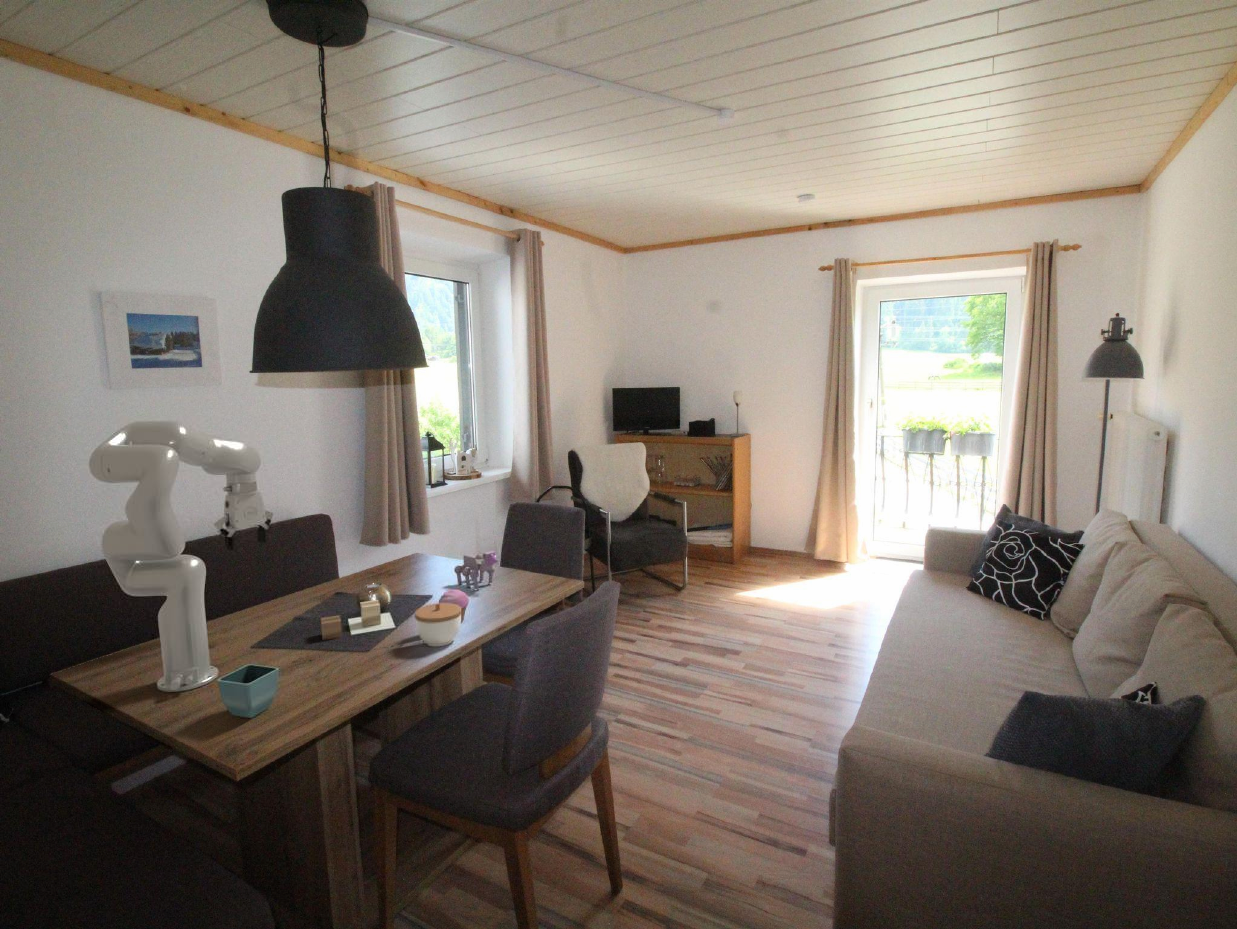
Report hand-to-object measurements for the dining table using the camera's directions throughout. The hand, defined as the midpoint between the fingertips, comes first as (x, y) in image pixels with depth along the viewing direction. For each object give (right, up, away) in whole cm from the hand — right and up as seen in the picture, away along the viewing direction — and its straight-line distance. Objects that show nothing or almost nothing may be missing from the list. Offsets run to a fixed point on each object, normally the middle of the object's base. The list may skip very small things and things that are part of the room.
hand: (247, 545), depth 192 cm
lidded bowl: (+59, -26, -9) cm, 65 cm away
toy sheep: (+61, -20, +40) cm, 75 cm away
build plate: (+36, -25, +3) cm, 43 cm away
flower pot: (+28, -31, -47) cm, 63 cm away
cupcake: (+60, -24, +6) cm, 65 cm away
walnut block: (+28, -26, -6) cm, 39 cm away
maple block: (+36, -23, +3) cm, 43 cm away
